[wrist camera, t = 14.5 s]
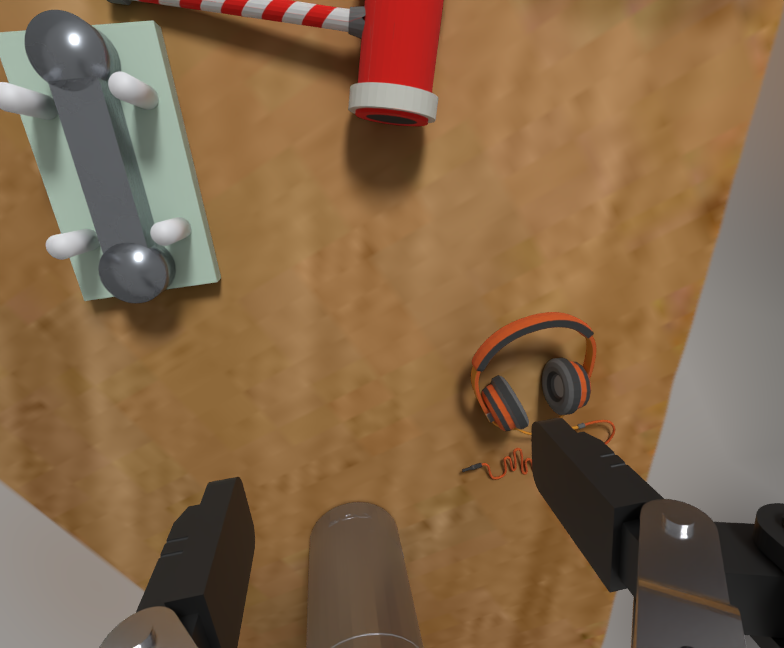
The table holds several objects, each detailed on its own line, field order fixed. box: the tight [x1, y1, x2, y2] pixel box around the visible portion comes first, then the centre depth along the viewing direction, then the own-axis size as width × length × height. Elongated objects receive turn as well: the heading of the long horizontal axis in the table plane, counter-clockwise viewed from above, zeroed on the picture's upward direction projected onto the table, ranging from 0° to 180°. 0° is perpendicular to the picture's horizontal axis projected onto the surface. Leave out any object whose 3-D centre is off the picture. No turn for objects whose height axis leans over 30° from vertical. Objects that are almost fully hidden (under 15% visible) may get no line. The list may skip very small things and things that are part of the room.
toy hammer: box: [107, 0, 444, 126], centre depth 30 cm, size 23×12×6 cm, turn 84°
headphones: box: [462, 312, 615, 479], centre depth 43 cm, size 17×5×20 cm
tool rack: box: [0, 20, 221, 301], centre depth 31 cm, size 18×10×6 cm, turn 7°
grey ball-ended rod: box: [24, 10, 176, 303], centre depth 31 cm, size 18×4×3 cm, turn 7°
